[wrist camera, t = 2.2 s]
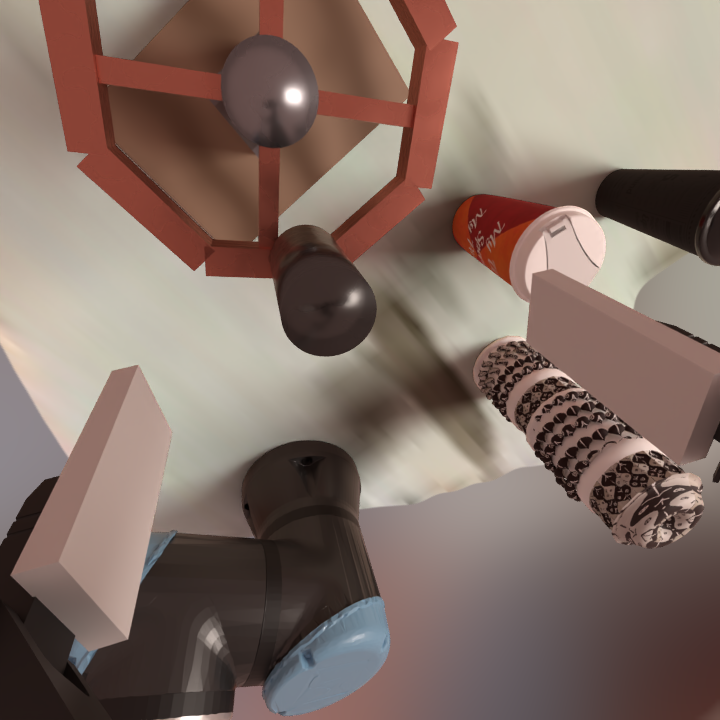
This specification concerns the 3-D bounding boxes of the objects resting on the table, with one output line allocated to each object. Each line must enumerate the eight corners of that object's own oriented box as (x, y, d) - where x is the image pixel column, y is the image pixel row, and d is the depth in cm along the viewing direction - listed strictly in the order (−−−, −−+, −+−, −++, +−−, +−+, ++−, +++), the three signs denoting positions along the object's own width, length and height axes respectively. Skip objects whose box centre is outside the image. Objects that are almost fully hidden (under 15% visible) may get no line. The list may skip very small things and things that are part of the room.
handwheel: (263, 294, 32) (278, 410, 19) (23, 64, 22) (-253, -1, 10) (449, 128, 29) (607, 138, 16) (265, -210, 20) (310, -772, 7)
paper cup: (430, 209, 41) (507, 246, 29) (499, 166, 41) (604, 187, 29) (457, 274, 45) (533, 329, 34) (519, 236, 45) (618, 278, 33)
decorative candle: (491, 325, 50) (673, 477, 29) (548, 341, 53) (749, 487, 32) (457, 388, 53) (598, 564, 32) (513, 399, 57) (673, 565, 36)
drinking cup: (654, 197, 47) (887, 243, 30) (596, 243, 48) (789, 313, 31) (637, 136, 43) (894, 151, 26) (574, 188, 44) (781, 234, 27)
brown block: (234, 251, 39) (232, 289, 30) (92, 112, 31) (38, 111, 23) (403, 95, 36) (453, 89, 27) (290, -99, 28) (312, -188, 20)
